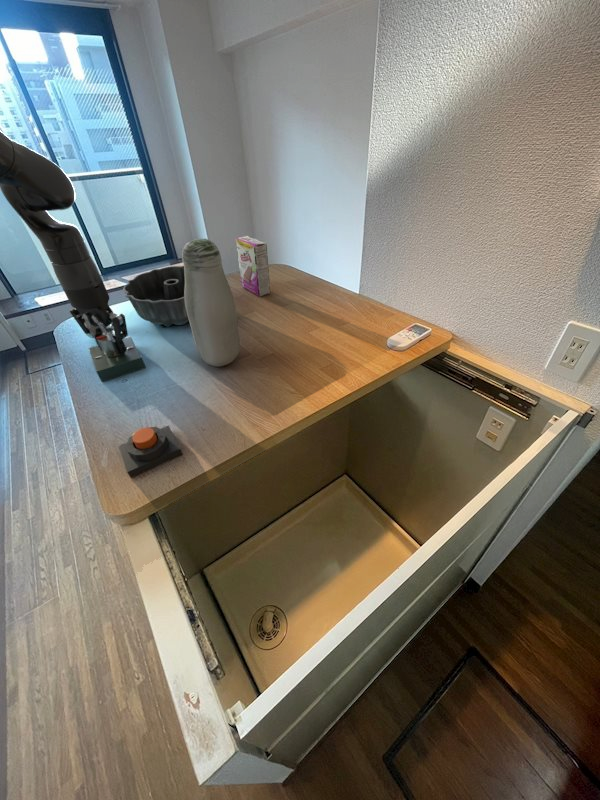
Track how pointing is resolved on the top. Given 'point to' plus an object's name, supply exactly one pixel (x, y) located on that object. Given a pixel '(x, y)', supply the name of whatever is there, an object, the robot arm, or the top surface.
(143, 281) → the bundt pan
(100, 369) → the panel
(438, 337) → the top surface
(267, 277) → the candy bar box
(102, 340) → the dial
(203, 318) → the off-white tall tapered cylinder
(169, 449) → the button block
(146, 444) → the button
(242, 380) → the top surface
